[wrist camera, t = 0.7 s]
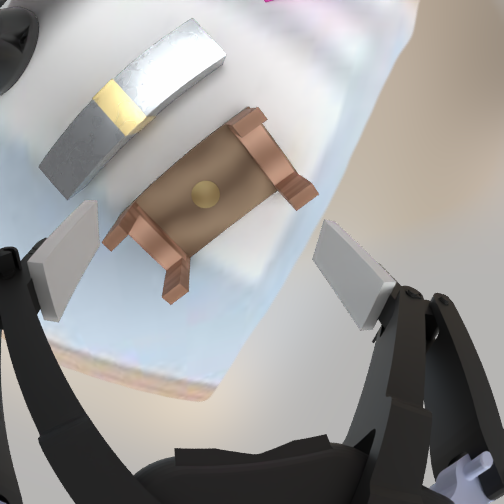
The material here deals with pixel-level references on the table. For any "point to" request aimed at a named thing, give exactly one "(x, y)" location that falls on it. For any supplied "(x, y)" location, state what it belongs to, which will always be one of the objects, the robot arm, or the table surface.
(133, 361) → the table surface
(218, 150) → the stove stand
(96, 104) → the grey metal bar
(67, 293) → the robot arm
